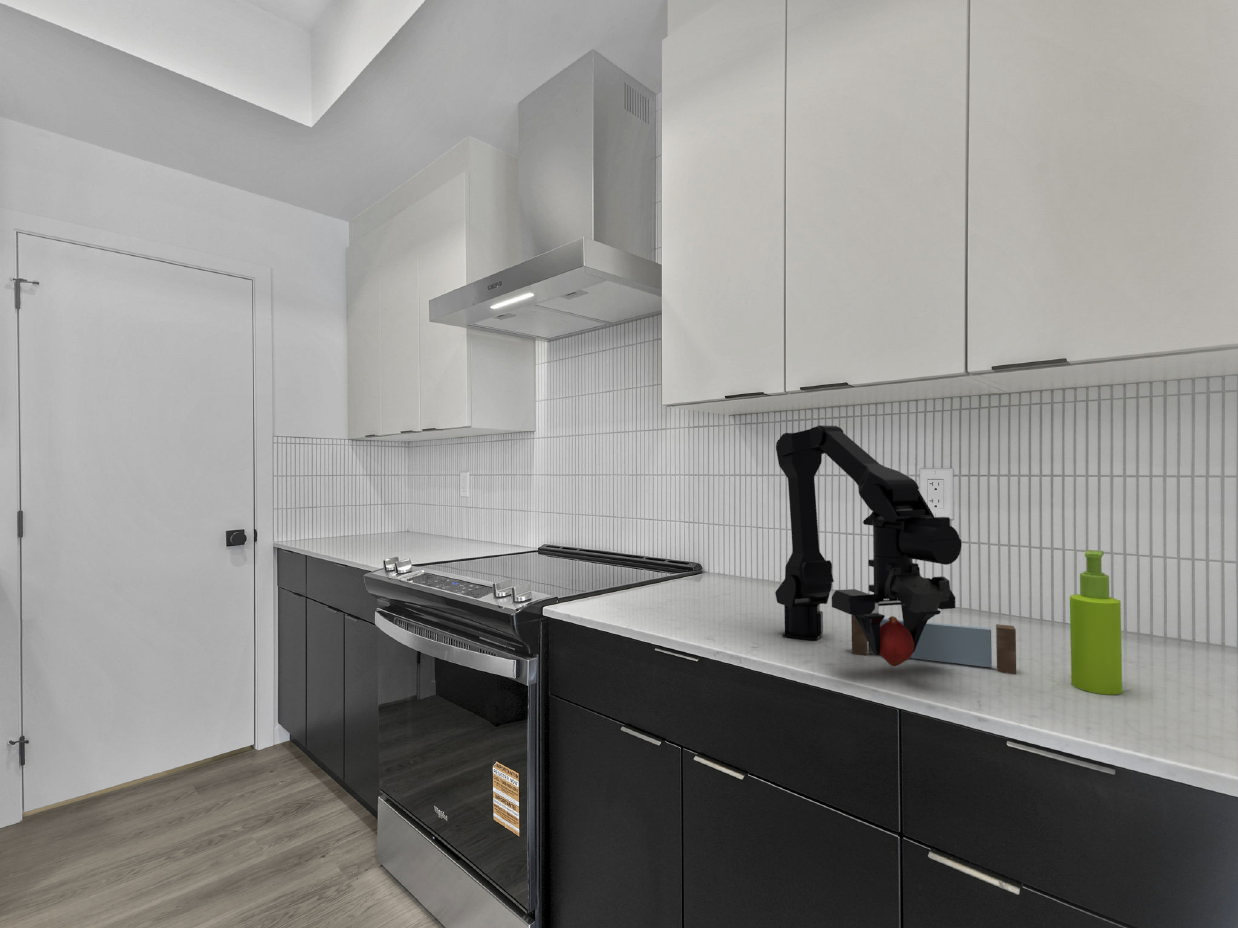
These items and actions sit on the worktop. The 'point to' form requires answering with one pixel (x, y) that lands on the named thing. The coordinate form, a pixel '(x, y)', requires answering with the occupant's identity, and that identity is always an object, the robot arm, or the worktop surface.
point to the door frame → (1003, 645)
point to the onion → (895, 642)
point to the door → (953, 644)
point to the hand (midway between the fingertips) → (893, 653)
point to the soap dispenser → (1095, 632)
